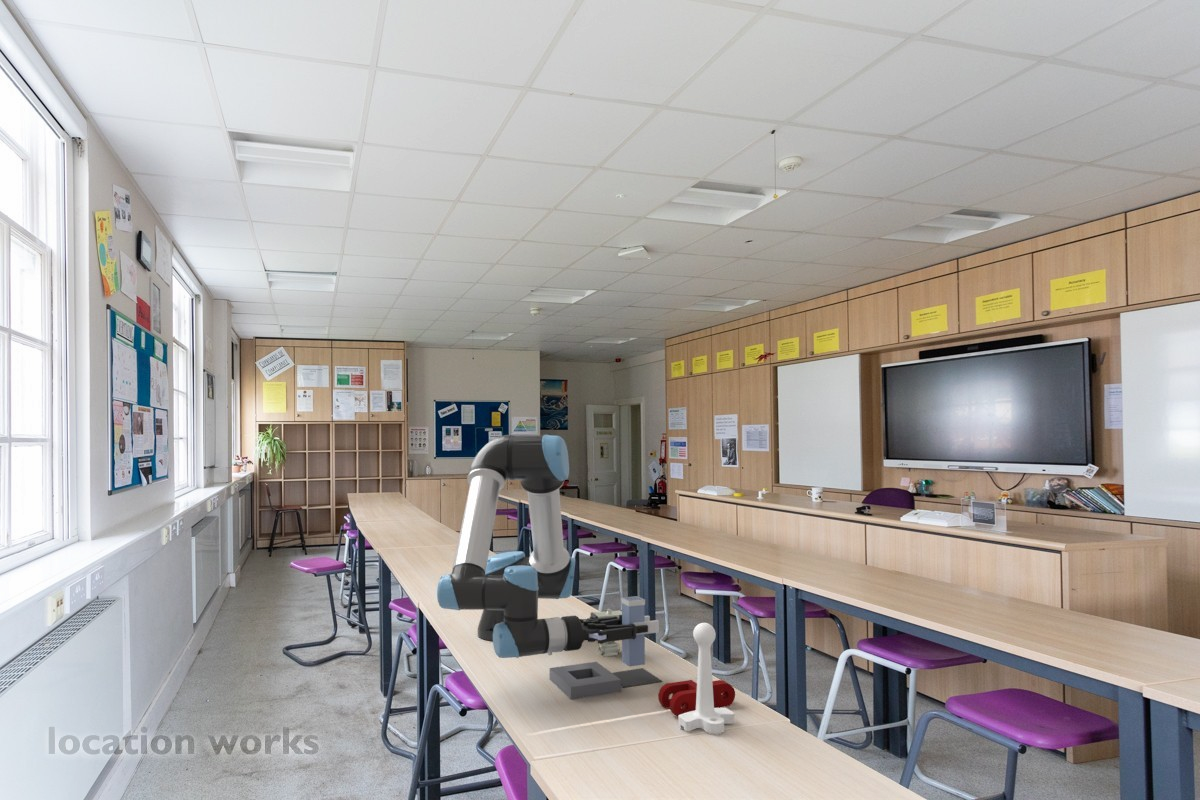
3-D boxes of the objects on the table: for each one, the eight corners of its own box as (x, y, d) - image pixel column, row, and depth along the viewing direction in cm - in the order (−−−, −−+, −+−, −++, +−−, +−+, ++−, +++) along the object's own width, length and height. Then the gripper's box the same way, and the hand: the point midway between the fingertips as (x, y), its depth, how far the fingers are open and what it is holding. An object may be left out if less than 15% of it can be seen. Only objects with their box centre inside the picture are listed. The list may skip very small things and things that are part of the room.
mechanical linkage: (673, 720, 145) (673, 695, 145) (658, 708, 152) (658, 684, 152) (741, 709, 151) (741, 685, 151) (723, 698, 157) (723, 675, 158)
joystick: (722, 716, 147) (722, 617, 148) (743, 730, 140) (742, 626, 141) (675, 725, 142) (674, 623, 143) (694, 739, 135) (693, 632, 136)
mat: (605, 676, 171) (605, 673, 171) (642, 670, 175) (642, 668, 175) (623, 689, 162) (623, 686, 162) (662, 683, 166) (662, 680, 166)
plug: (621, 661, 170) (621, 597, 171) (637, 659, 171) (637, 596, 172) (629, 666, 166) (629, 601, 167) (645, 664, 168) (645, 599, 169)
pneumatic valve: (633, 655, 187) (633, 609, 188) (590, 660, 184) (590, 612, 184) (626, 649, 192) (626, 604, 193) (584, 653, 189) (584, 607, 190)
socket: (549, 681, 168) (549, 668, 168) (596, 674, 173) (596, 661, 173) (570, 701, 155) (570, 687, 155) (620, 693, 160) (620, 679, 160)
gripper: (549, 641, 170) (637, 631, 179) (575, 661, 154) (671, 649, 163) (549, 609, 170) (637, 600, 179) (575, 626, 155) (670, 615, 164)
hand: (653, 623), depth 171 cm, fingers closed on plug, 4 cm apart
